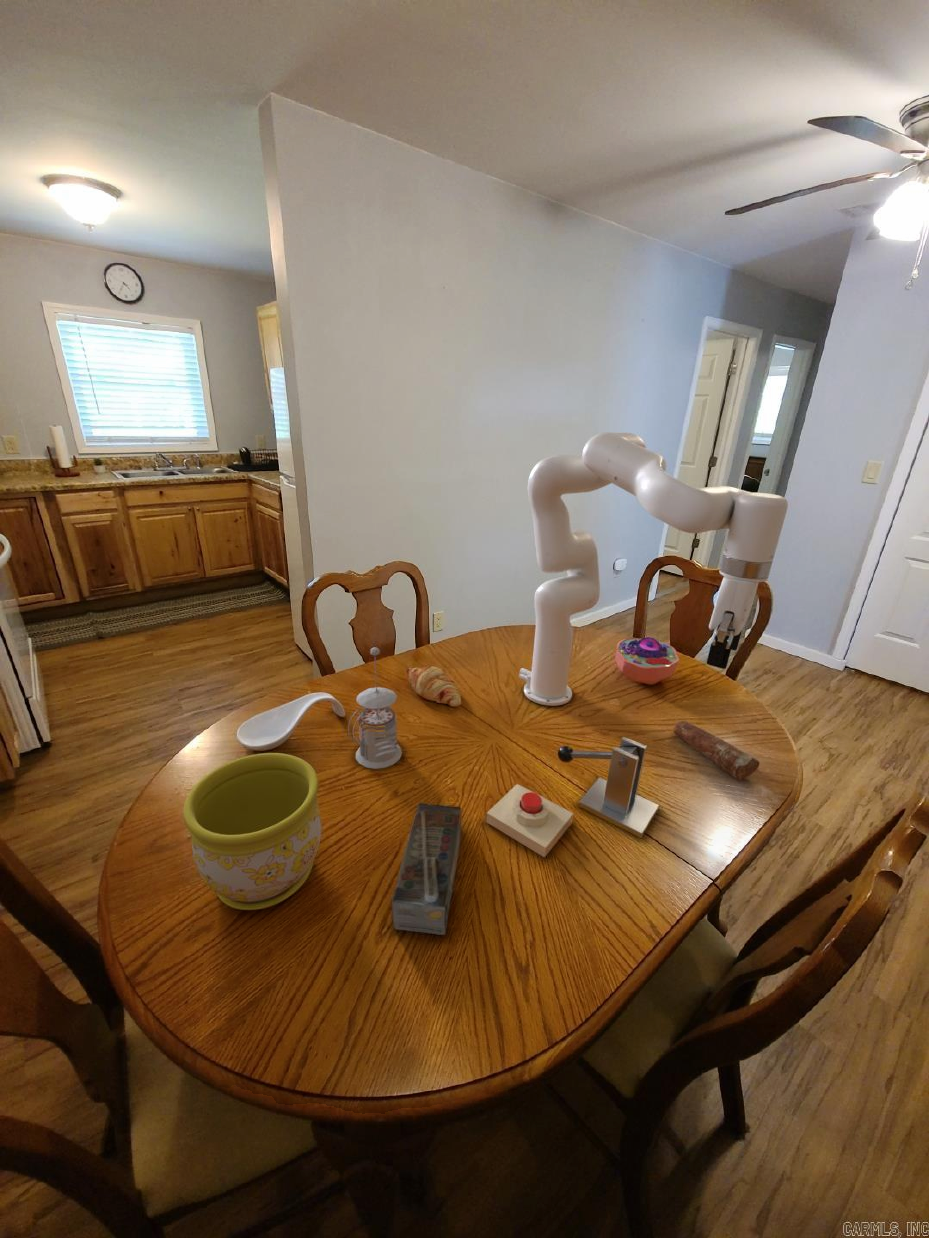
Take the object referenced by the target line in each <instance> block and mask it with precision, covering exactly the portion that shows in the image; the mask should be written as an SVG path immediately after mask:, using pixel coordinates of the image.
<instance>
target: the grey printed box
mask: <svg viewBox="0 0 929 1238" xmlns="http://www.w3.org/2000/svg"><path fill="white" fill-rule="evenodd" d="M461 836H462V808H461V807H460V806H448V805H442V804H428V803H420V802H418V804H417V807H416V810H415V813H414V817H413V820H412V823H411V827H410V831H409V835H408V838H407V841H406V845H405V850H404V852H403V853H404V854H403V857H402V861H401V864H400V867H399V868H400V869H399V872H398V876H397V880H396V885H395V888H394V890H393V891H394V892H393V895H392V899H391V915H392V922H393V923H392V924H393V928H394V929H395V930H397V931H408V932H417V933H425V934H432V935H438V936H445V935H446V932H447V926H448V917H449V912H450V906H451V900H452V893H453V887H454V883H455V878H456V872H457V871H456V870H457V864H458V859H459V853H460V845H461V838H462V837H461Z"/></svg>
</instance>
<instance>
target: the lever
mask: <svg viewBox="0 0 929 1238" xmlns="http://www.w3.org/2000/svg"><path fill="white" fill-rule="evenodd" d="M621 750H624V751H626V752H628V753H631V754H633V755H635V756H638V757H639V755H638V752H637V748H636V747H621ZM611 756H612V751H599V750H598V751H596V750H595V751H594V750H593V751H592V750H574V749H573V748H572V747H571V746H569V745H562V746H560V747H559V748H558V750H557V758H558V759H559V760H560V761H561V762H562V763H567V764H568V763H570V762H572V761H573V760H574V759H592V760H611ZM639 760H640V759H639ZM639 760H638V761H639Z"/></svg>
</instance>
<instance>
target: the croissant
mask: <svg viewBox="0 0 929 1238" xmlns="http://www.w3.org/2000/svg"><path fill="white" fill-rule="evenodd" d="M406 675H407V680H408V681H407V682H408V683H409V685H410V686H411V689H412V690H413V691H414V692H415V694H416V695H418V696H420V697H421V698H422V699H424V700H427V701H431V702H436V703H438V704H444V705H446V704H447V705H448V706H450V707H459V706H461V704H462V696H461V694H460V692H459V690H458V687H457V685H456V683H455V681H453V680H451V679H450V677H449V675H448V674H447V673H446V671H445V670H444V669H442V668H440V667H438V666H434V665H429V666H427V667H426V666H425V667H424V666H423V667H417V666H416V667H411V666H409V667H407V668H406Z"/></svg>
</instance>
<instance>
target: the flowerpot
mask: <svg viewBox="0 0 929 1238" xmlns="http://www.w3.org/2000/svg"><path fill="white" fill-rule="evenodd" d="M319 785H320V784H319V778H318V775H317V772H316V770H315V769H314V768H313V767H312V765H310V764H309V762H307V761H306V760H305V759H302V758H300V757H298V756H295V755H292V754H287V753H281V752H264V753H256V754H251V755H246V756H242V757H239V758H237V759H233V760H231V761H229V762H226V763H225V764H222V765H220V766H219V767H217V768H214V770H212V771H210V772H208V773H207V774H206V775H204V776H203V777H202V778H201V779H200V780H199V781H198V782H197V783H196V784H195V785H194V786H193V788H192V789H191V790H190V792H189V793H188V794H187V797H186V799H185V801H184V804H183V811H182V812H183V813H182V815H183V821H184V824H185V826H186V828H187V830H188V831H189V835H190V837H191V850H192V856H193V860H194V865H195V867H196V870H197V872H198V874H199V876H200V878H201V879H202V881H203V882H204V883H205V885H206V886H207V887H208V888H209V889H211V890H212V891H213V892H214V893H216V895H217V897H218V899H220V901H221V902H222V903H224V904H225V905H227V906H229V907H230V908H233V909H237V910H242V911H256V910H257V911H258V910H264V909H269V908H271V907H274V906H276V905H278V904H280V903H282V902H284V901H285V900H287V899H288V898H290V897H291V896H292V895H293V894H295V893H296V892H297V891H298V890H299V889H300V888H301V887H302V886H303V885H304V883H305V882H306V881H307V879H308V878H309V876H310V874H311V872H312V869H313V865H314V860H315V858H316V855H317V853H318V851H319V847H320V843H321V839H322V816H321V815H322V814H321V809H320V805H319V802H318V801H319V800H318V797H319V795H318V793H319Z"/></svg>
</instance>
